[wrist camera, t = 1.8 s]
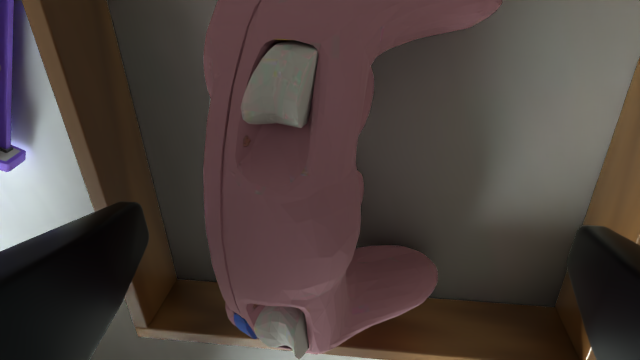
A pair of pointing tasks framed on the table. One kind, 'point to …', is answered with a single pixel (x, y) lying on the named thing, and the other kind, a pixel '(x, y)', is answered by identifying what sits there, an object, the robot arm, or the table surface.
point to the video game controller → (305, 164)
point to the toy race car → (7, 89)
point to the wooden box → (205, 297)
